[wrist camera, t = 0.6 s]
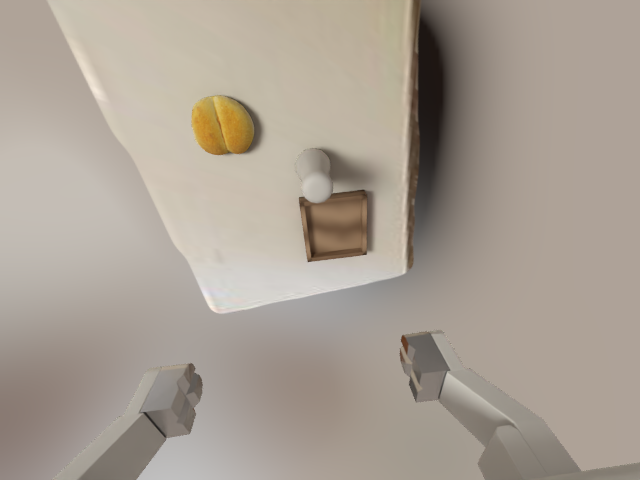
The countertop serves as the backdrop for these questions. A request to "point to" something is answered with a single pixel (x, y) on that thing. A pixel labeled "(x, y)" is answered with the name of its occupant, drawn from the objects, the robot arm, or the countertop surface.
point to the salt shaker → (314, 175)
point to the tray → (335, 226)
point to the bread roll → (222, 125)
